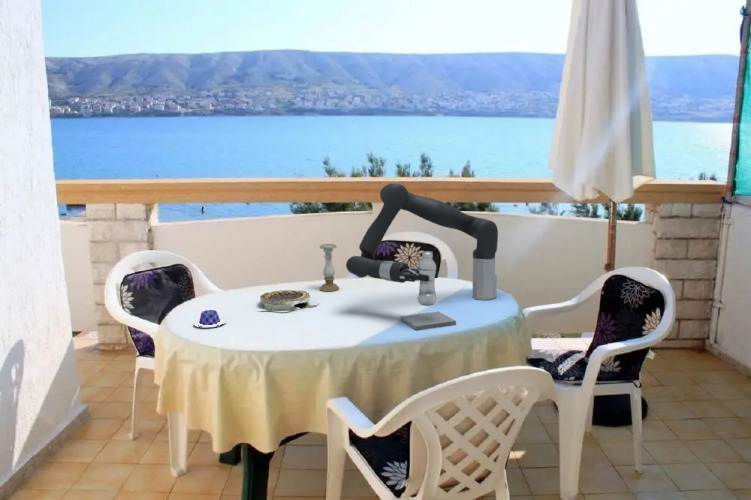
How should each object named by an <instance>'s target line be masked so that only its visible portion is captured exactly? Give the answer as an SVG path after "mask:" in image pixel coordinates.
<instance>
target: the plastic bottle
mask: <svg viewBox="0 0 751 500" xmlns="http://www.w3.org/2000/svg"><path fill="white" fill-rule="evenodd" d="M421 254H422V255H421V257H422V259H421V260H420V261H419V262H418V265H417V267H418V270H419V275H420V274H422V275H429V281H428V282H426V281H419V290H418V296H417V300H418V301H417V302H418V303H419V305H420V306H427V307H431V306H434V305H435V304H436V302H437V294H436V287H435V286H436V285H435V280H436V278H435V272H437V265H436V262H435V260H434V259H433V257H434V256H433V255H434V254H433V251H430V250H425V251H424V250H423V251H422V253H421Z"/></svg>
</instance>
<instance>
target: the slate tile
mask: <svg viewBox="0 0 751 500" xmlns="http://www.w3.org/2000/svg"><path fill="white" fill-rule="evenodd" d="M399 319H400V321H401V322H403V323H404V324H405V325H407V326H408V327H410V328H411V329H413V330H414V331H422V330H428V329H437V327H438V328H444V327H452V326H456V325H457V320H455V319H453V318H452V317H449V316H448V315H446V314H444V313H442V312H441V311H432V312H424V313H418V314H416V313H415V314H408V315H400V317H399Z"/></svg>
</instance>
